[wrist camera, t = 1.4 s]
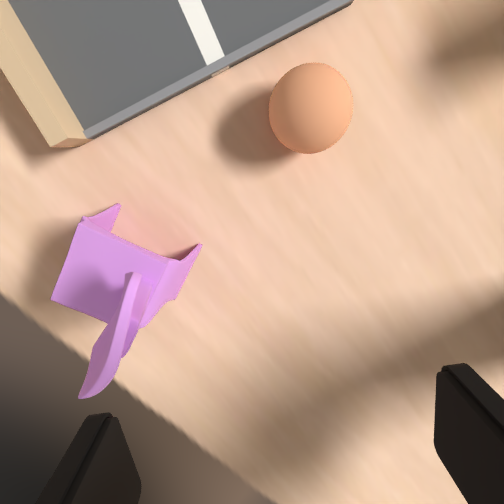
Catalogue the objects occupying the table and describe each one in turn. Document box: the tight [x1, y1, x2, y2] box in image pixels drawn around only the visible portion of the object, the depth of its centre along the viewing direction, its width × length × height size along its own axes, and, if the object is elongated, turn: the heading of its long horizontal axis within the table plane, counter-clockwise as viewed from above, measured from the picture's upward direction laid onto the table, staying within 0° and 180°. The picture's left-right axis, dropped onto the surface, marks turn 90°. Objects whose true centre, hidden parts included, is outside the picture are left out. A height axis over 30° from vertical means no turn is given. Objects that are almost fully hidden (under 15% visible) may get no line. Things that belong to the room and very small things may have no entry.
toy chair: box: [50, 203, 202, 399], centre depth 23 cm, size 8×9×15 cm
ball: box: [269, 63, 353, 154], centre depth 23 cm, size 6×6×6 cm
